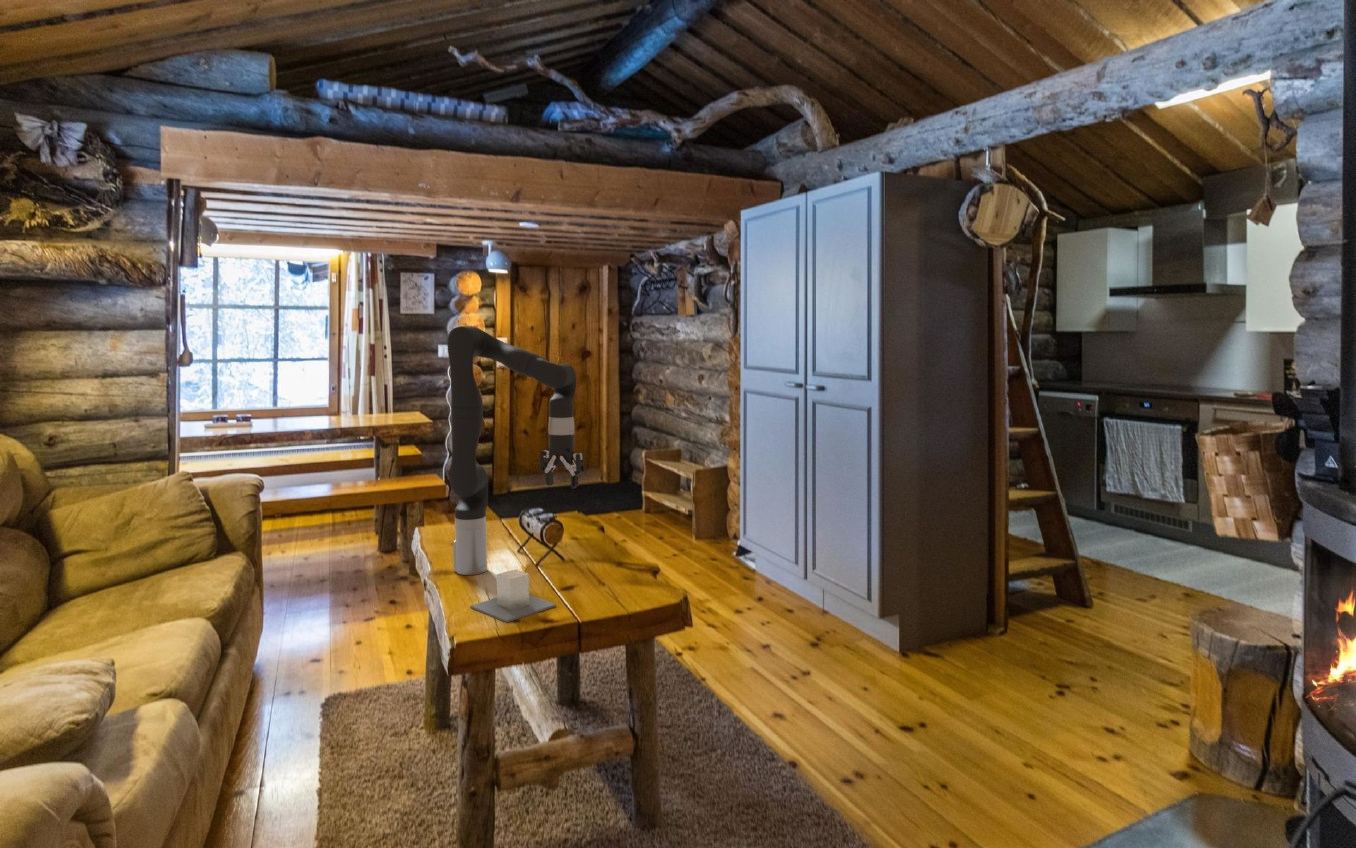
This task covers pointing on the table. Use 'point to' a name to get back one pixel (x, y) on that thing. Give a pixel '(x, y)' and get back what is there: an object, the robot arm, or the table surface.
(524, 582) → the block
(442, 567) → the table surface
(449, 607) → the table surface
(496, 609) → the mat
